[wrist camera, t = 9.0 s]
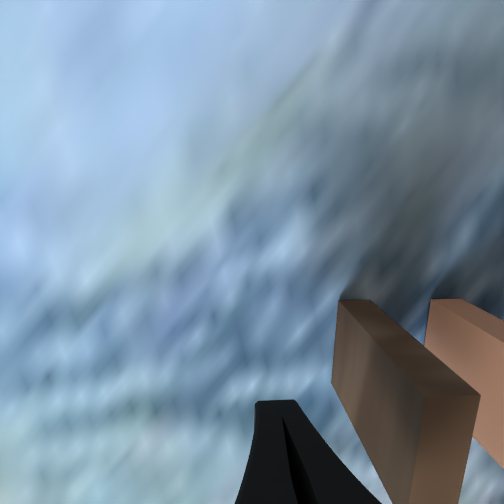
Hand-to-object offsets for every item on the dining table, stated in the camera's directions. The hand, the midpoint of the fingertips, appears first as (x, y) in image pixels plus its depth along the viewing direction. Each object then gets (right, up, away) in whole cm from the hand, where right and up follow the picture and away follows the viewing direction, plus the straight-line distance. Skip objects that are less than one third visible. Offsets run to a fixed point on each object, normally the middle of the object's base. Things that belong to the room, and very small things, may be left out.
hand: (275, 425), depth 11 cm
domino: (+4, +1, +5) cm, 7 cm away
